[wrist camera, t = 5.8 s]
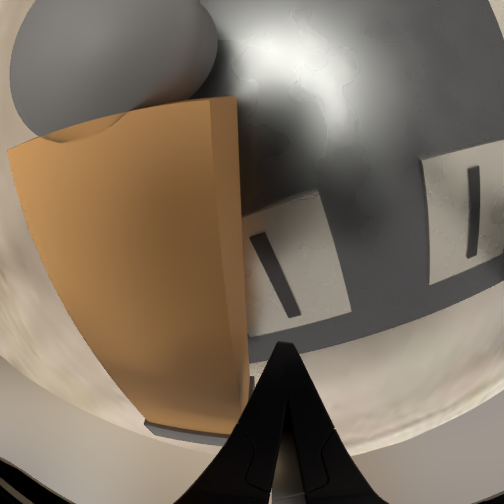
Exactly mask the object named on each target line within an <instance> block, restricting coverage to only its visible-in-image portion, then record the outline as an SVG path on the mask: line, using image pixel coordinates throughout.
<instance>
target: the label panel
mask: <svg viewBox="0 0 504 504" xmlns="http://www.w3.org/2000/svg"><path fill="white" fill-rule="evenodd" d="M198 1H199V2H200V3H201V4H202V5H203V6H204V7H205V9H206V10H207V11H208V12H209V14H210V15H211V17H212V19H213V21H214V23H215V26H216V30H217V37H218V46H217V53H216V58H215V61H214V64H213V67H212V69H211V71H210V73H209V75H208V77H207V78H206V80H205V81H204V83H203V84H202V85H201V86H200V88H199V89H198V90H197V91H196V92H195V93H194V94H193V95H192V96H191V97H190V98H189V99H187V100H191V99H201V98H212V97H227V96H237V120H238V147H239V172H240V196H241V219H242V240H243V261H244V281H245V301H246V319H247V338H248V355H249V364H250V363H256V362H262V361H267V360H269V358H270V356H271V354H272V352H273V349H274V347H275V345H276V343H277V342H278V341H282V342H291V343H293V344H294V345H295V347H296V349H297V351H298V353H299V354H301V353H305V352H310V351H314V350H318V349H322V348H326V347H330V346H334V345H338V344H341V343H345V342H349V341H352V340H356V339H359V338H362V337H366V336H369V335H372V334H375V333H378V332H382V331H385V330H388V329H391V328H394V327H397V326H399V325H402V324H405V323H408V322H411V321H413V320H416V319H419V318H421V317H424V316H427V315H429V314H432V313H434V312H437V311H439V310H442V309H444V308H446V307H449V306H451V305H453V304H456V303H458V302H460V301H462V300H465V299H467V298H469V297H471V296H473V295H475V294H478V293H480V292H482V291H484V290H486V289H488V288H490V287H492V286H494V285H496V284H498V283H500V282H501V281H503V280H504V39H503V36H502V33H501V30H500V28H499V25H498V22H497V20H496V17H495V15H494V12H493V10H492V8H491V6H490V3H489V1H488V0H198Z"/></svg>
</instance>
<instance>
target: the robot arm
mask: <svg viewBox="0 0 504 504" xmlns="http://www.w3.org/2000/svg"><path fill="white" fill-rule="evenodd" d="M334 428H335V427H334V425H333V423H332V421H331V419H330V417H329V415H328V413H327V411H326V409H325V406H324V404H323V402H322V400H321V398H320V396H319V394H318V392H317V390H316V388H315V386H314V384H313V382H312V380H311V378H310V376H309V374H308V371H307V369H306V367H305V365H304V363H303V361H302V359H301V357H300V355H299V353H298V351H297V349H296V347H295V345H294V344H293V343H291V342H282V341H278V342H277V343H276V345H275V347H274V349H273V352H272V354H271V356H270V358H269V360H268V362H267V364H266V366H265V368H264V370H263V373H262V375H261V377H260V379H259V381H258V383H257V385H256V387H255V389H254V391H253V393H252V395H251V397H250V399H249V401H248V403H247V405H246V406H245V408H244V410H243V412H242V414H241V416H240V418H239V420H238V422H237V424H236V425H235V427H234V429H233V431H232V433H231V434H230V436H229V438H228V439H227V441H226V443H225V444H224V446H223V447H222V449H221V450H220V451H219V453H218V454H217V455H216V457H215V458H214V459H213V461H212V462H211V463H210V464H209V465H208V467H207V468H206V469H205V470H204V471H203V473H202V474H201V475H200V476H199V477H198V479H197V480H196V481H195V482H194V483H193V484H192V485H191V486H190V488H189V489H188V490H187V491H186V492H185V493H184V494H183V495H182V496H181V497H180V498H179V499H178V500H177V501H176V502H174V503H173V504H268V503H269V497H270V492H271V489H272V500H273V501H272V504H389V503H387V502H386V501H384V500H383V499H382V498H380V497H379V496H378V495H377V494H376V493H375V492H374V490H373V489H372V488H371V486H370V485H369V483H368V482H367V481H366V479H365V478H364V476H363V475H362V473H361V472H360V470H359V469H358V467H357V466H356V464H355V463H354V461H353V460H352V458H351V457H350V455H349V454H348V452H347V450H346V448H345V447H344V445H343V443H342V441H341V439H340V437H339V435H338V433H337V431H336V429H334ZM0 504H75V503H73V502H72V501H70V500H68V499H66V498H65V497H63V496H61V495H59V494H58V493H56V492H54V491H53V490H51V489H50V488H48V487H47V486H45V485H43V484H42V483H40V482H39V481H38V480H36V479H35V478H33V477H32V476H30V475H29V474H28V473H26V472H25V471H23V470H21V469H20V468H18V467H17V466H15V465H14V464H12V463H11V462H9V461H7V460H5V459H3V458H1V457H0ZM472 504H504V491H502V492H500V493H498V494H495V495H493V496H491V497H488V498H486V499H483V500H480V501H478V502H475V503H472Z"/></svg>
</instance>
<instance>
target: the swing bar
mask: <svg viewBox="0 0 504 504" xmlns="http://www.w3.org/2000/svg"><path fill="white" fill-rule="evenodd" d="M217 46H218V37H217V30H216V26H215V23H214V21H213V19H212V17H211V15H210V14H209V12H208V11H207V10H206V9H205V7H204V6H203V5H202V4H201V3H200V2H199V1H198V0H36V1H35V2H34V4H33V5H32V7H31V8H30V10H29V12H28V13H27V15H26V17H25V19H24V21H23V22H22V25H21V27H20V29H19V32H18V34H17V37H16V40H15V43H14V47H13V51H12V55H11V63H10V88H11V93H12V98H13V101H14V105H15V107H16V110H17V112H18V114H19V116H20V117H21V119H22V120H23V122H24V123H25V124H26V126H27V127H28V128H29V129H30V130H31V131H32V132H34V133H35V134H36V135H38V136H39V137H36V138H34V139H32V140H29V141H27V142H25V143H22V144H20V145H18V146H16V147H14V148H12V149H9V150H7V151H8V157H9V161H10V166H11V170H12V174H13V178H14V182H15V186H16V190H17V193H18V197H19V200H20V203H21V207H22V210H23V213H24V216H25V219H26V222H27V224H28V227H29V230H30V233H31V235H32V238H33V240H34V243H35V245H36V248H37V250H38V253H39V255H40V257H41V260H42V262H43V264H44V266H45V269H46V271H47V273H48V275H49V277H50V279H51V281H52V283H53V285H54V287H55V289H56V291H57V293H58V295H59V297H60V299H61V301H62V303H63V304H64V306H65V308H66V310H67V312H68V313H69V315H70V317H71V318H72V320H73V322H74V324H75V325H76V327H77V328H78V330H79V332H80V333H81V335H82V336H83V338H84V340H85V341H86V343H87V344H88V346H89V347H90V349H91V350H92V352H93V353H94V355H95V356H96V357H97V359H98V360H99V362H100V363H101V364H102V366H103V367H104V369H105V370H106V371H107V373H108V374H109V375H110V377H111V378H112V379H113V381H114V382H115V383H116V384H117V386H118V387H119V388H120V389H121V391H122V392H123V393H124V394H125V396H126V397H127V398H128V399H129V400H130V401H131V403H132V404H133V405H134V406H135V407H136V408H137V410H138V411H139V412H140V413H141V414H142V415H143V416H144V417H145V422H144V425H145V426H146V427H147V428H148V429H149V430H150V431H151V432H152V433H153V434H154V435H157V436H161V437H166V438H171V439H176V440H182V441H188V442H194V443H200V444H208V445H216V446H224V444H225V443H226V441H227V439H228V438H229V436H230V434H231V433H232V431H233V429H234V427H235V425H236V424H237V422H238V420H239V418H240V416H241V414H242V412H243V410H244V408H245V406H246V405H247V403H248V401H249V399H250V397H251V395H252V393H253V391H254V389H255V381H254V376H250V372H249V355H248V338H247V319H246V301H245V281H244V261H243V240H242V219H241V196H240V172H239V147H238V120H237V96H227V97H212V98H201V99H191V100H187V99H189V98H190V97H191V96H192V95H193V94H194V93H195V92H196V91H197V90H198V89H199V88H200V86H201V85H202V84H203V83H204V81H205V80H206V78H207V77H208V75H209V73H210V71H211V69H212V67H213V64H214V61H215V58H216V53H217Z"/></svg>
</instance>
